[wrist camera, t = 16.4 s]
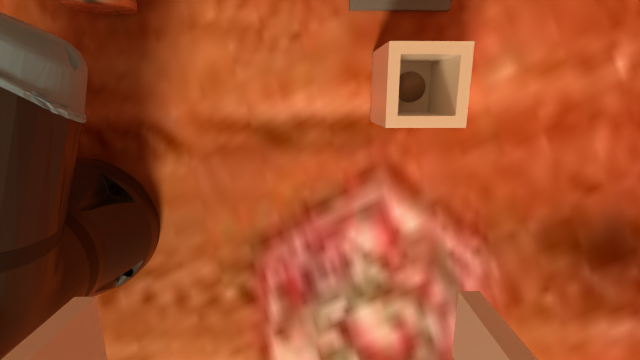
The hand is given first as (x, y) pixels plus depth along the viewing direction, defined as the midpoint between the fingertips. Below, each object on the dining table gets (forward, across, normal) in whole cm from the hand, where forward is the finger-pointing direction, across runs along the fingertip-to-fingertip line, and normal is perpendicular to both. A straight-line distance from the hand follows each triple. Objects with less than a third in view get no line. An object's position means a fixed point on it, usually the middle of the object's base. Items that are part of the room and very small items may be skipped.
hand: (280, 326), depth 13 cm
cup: (+27, +11, +9) cm, 30 cm away
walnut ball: (+24, +11, +9) cm, 28 cm away
